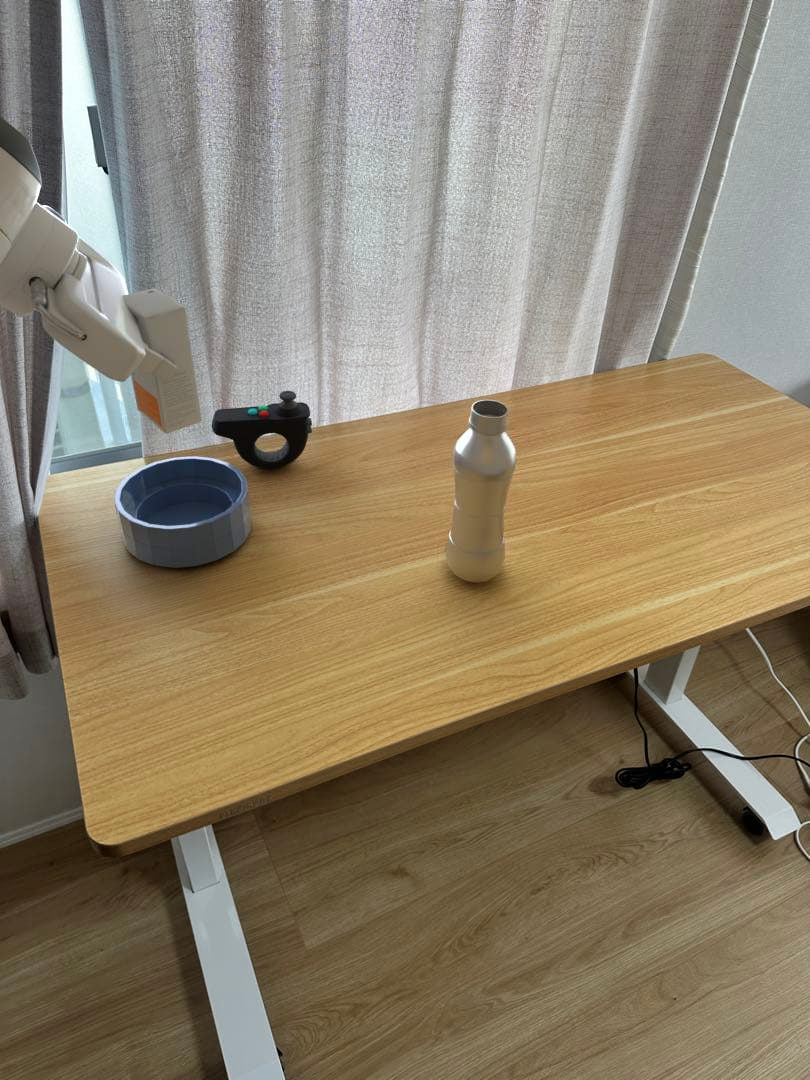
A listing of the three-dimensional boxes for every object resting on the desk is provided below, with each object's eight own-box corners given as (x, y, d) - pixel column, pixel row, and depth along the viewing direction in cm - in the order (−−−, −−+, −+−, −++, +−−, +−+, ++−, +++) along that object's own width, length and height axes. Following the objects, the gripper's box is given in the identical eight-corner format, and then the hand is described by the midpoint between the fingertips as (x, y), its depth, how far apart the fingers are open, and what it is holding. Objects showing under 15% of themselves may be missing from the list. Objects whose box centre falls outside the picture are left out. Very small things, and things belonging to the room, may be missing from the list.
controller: (315, 470, 104) (312, 400, 98) (217, 478, 102) (208, 408, 96) (311, 452, 107) (308, 384, 101) (216, 460, 105) (207, 391, 99)
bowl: (141, 587, 85) (131, 542, 81) (112, 516, 95) (102, 473, 91) (269, 551, 90) (265, 507, 87) (229, 487, 100) (223, 446, 97)
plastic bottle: (459, 595, 85) (474, 431, 73) (434, 558, 90) (445, 397, 78) (513, 583, 87) (537, 420, 75) (486, 546, 92) (504, 388, 80)
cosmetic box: (136, 411, 81) (113, 296, 74) (174, 399, 84) (156, 286, 76) (165, 436, 78) (144, 317, 71) (204, 422, 80) (187, 306, 73)
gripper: (57, 275, 60) (205, 377, 69) (48, 200, 75) (171, 292, 84) (8, 339, 61) (160, 431, 70) (9, 253, 76) (134, 338, 85)
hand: (166, 355), depth 77 cm, fingers closed on cosmetic box, 7 cm apart
